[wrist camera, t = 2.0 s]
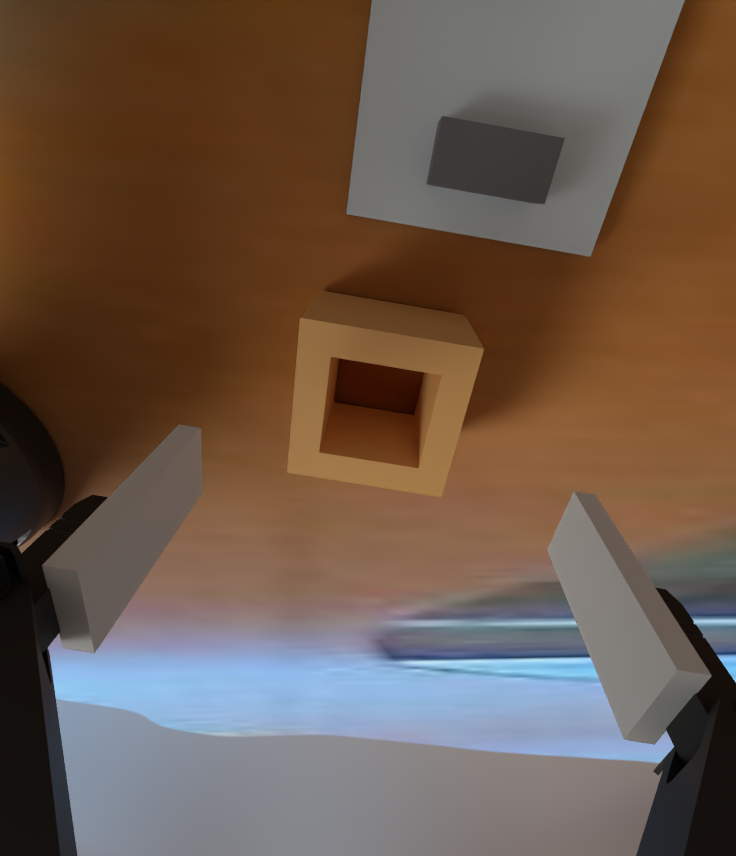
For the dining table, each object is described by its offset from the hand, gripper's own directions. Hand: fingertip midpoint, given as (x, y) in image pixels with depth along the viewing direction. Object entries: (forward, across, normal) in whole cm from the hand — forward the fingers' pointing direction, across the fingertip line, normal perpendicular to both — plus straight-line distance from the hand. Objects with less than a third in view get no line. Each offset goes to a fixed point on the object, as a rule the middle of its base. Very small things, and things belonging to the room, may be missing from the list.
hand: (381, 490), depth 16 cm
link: (+12, 0, 0) cm, 12 cm away
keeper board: (+12, +2, +16) cm, 20 cm away
